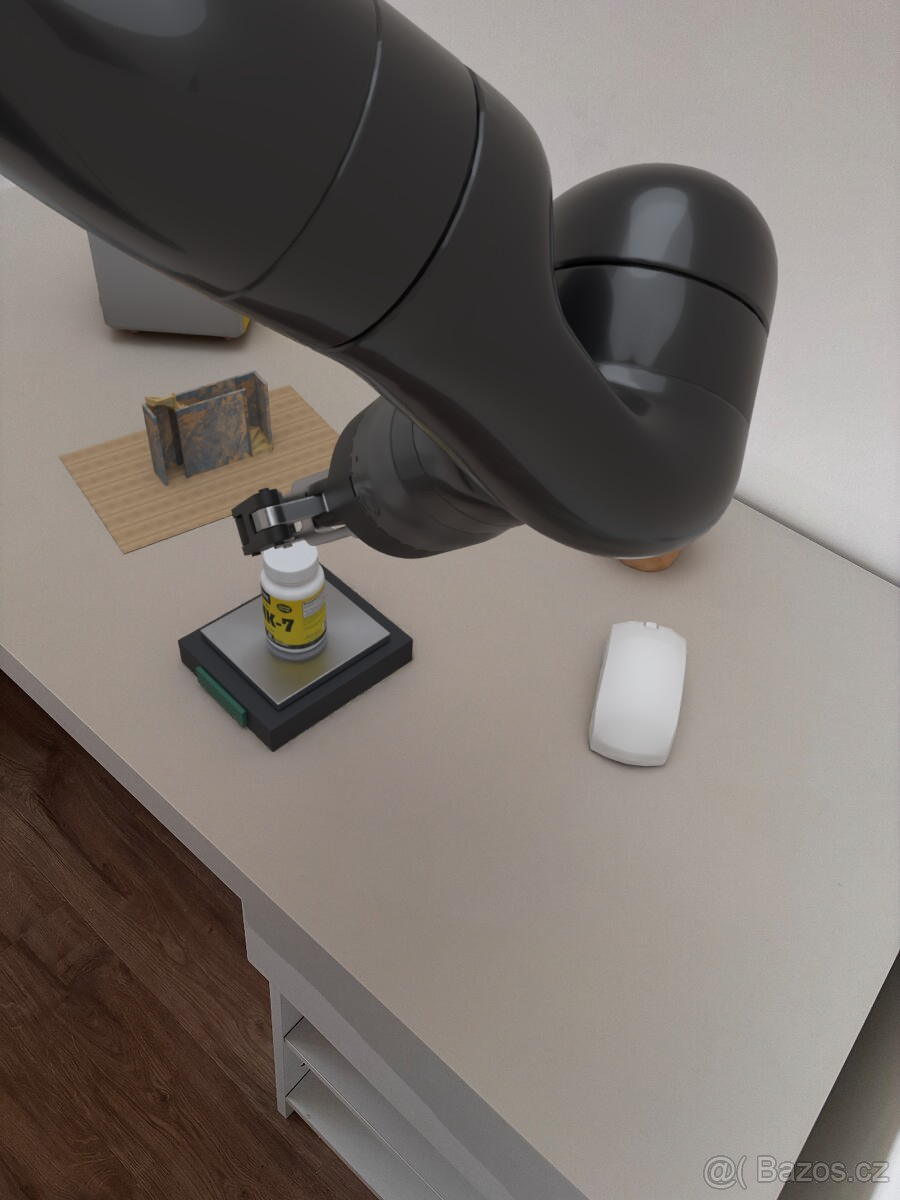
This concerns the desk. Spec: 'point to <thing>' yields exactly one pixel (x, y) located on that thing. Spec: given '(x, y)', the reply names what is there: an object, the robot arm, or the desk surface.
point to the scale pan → (294, 672)
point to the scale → (312, 705)
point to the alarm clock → (155, 299)
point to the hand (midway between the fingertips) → (345, 510)
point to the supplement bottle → (293, 597)
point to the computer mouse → (638, 694)
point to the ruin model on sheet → (201, 458)
